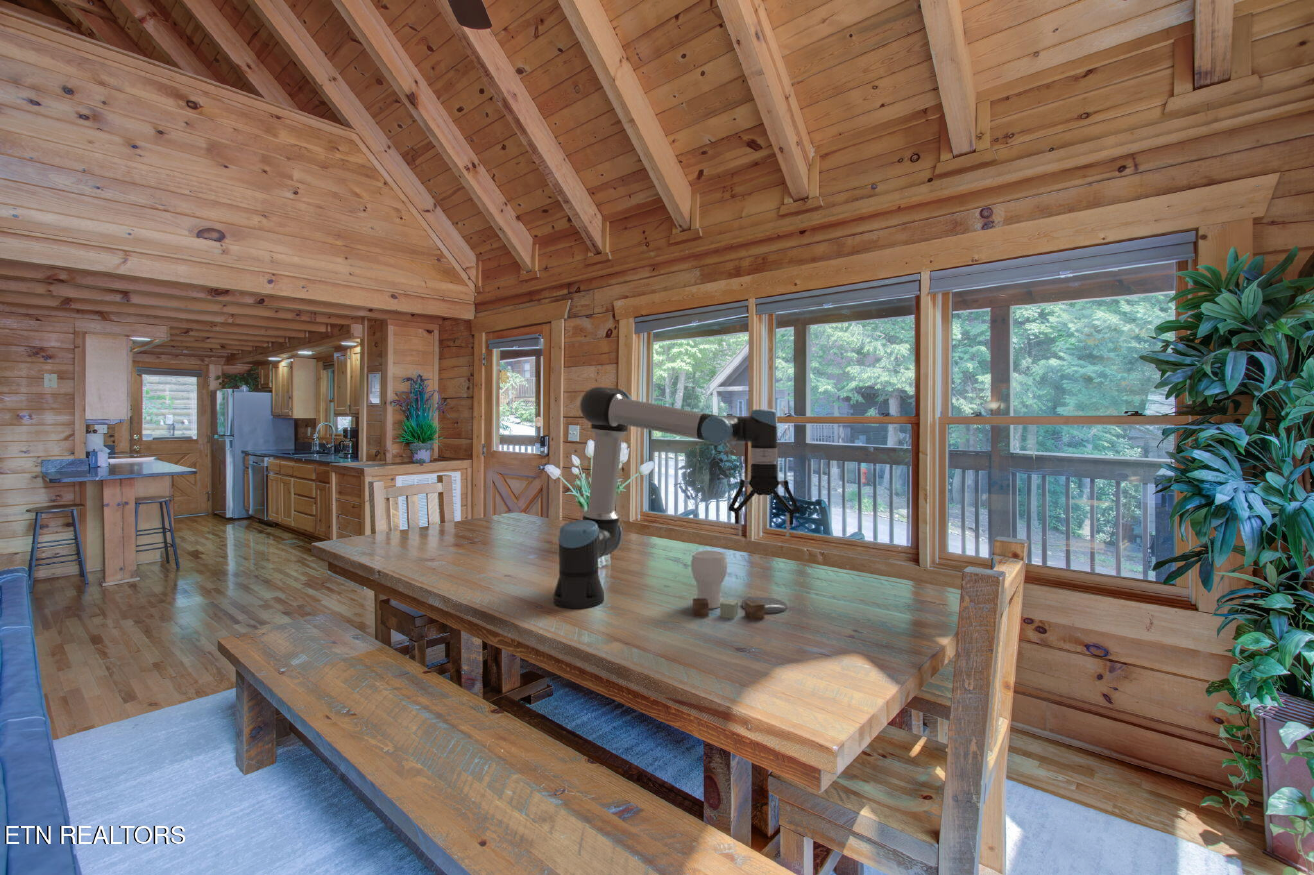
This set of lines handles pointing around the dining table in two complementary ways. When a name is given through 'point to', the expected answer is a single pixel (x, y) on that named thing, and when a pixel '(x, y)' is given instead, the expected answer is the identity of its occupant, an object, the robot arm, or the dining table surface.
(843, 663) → the dining table surface
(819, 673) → the dining table surface
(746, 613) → the block
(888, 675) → the dining table surface
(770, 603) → the coaster
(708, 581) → the cup
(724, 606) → the block
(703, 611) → the block
